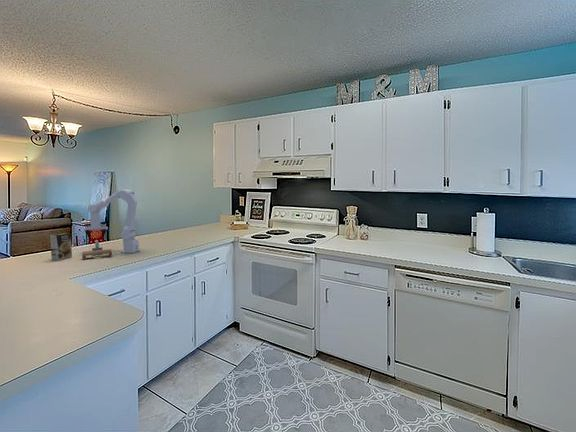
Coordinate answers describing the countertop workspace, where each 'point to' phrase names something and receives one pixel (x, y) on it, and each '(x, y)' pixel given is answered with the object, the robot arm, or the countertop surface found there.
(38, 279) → the countertop surface
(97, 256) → the puck
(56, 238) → the coffee box
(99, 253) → the wooden stand
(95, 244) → the scraper
